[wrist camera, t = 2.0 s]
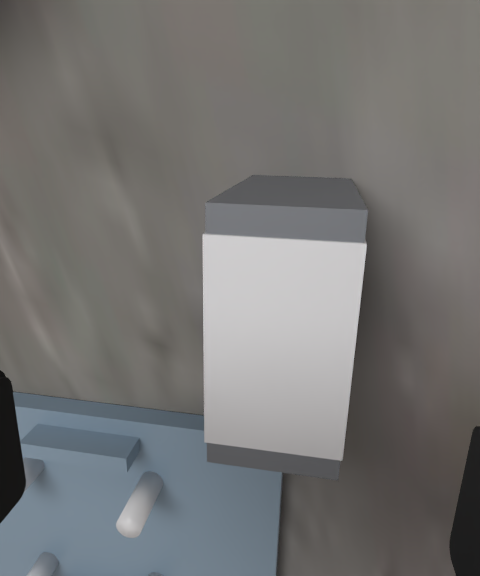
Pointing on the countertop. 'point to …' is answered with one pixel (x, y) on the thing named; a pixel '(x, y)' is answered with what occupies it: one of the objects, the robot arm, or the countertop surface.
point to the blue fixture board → (133, 497)
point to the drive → (281, 321)
